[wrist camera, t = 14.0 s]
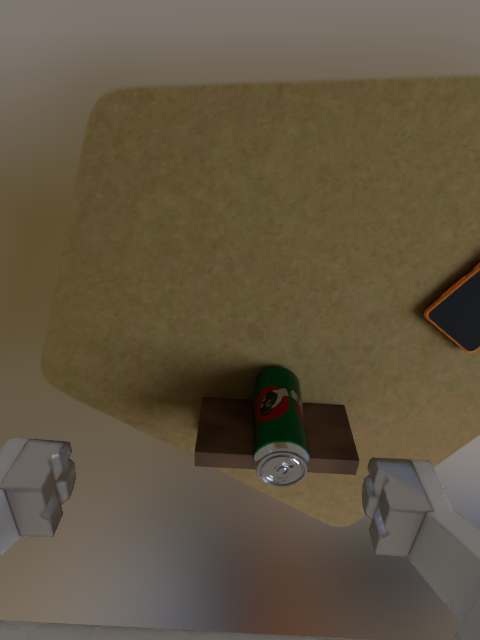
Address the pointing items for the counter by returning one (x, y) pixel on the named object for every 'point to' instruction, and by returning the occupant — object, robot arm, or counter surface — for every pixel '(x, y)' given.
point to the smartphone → (459, 312)
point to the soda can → (279, 428)
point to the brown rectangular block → (237, 436)
